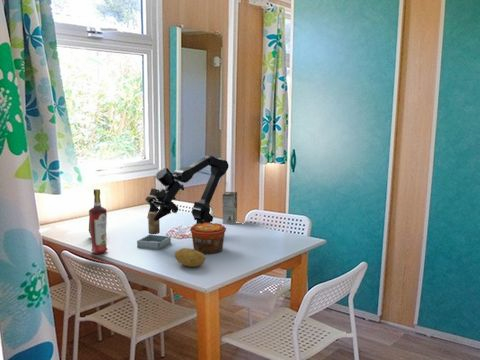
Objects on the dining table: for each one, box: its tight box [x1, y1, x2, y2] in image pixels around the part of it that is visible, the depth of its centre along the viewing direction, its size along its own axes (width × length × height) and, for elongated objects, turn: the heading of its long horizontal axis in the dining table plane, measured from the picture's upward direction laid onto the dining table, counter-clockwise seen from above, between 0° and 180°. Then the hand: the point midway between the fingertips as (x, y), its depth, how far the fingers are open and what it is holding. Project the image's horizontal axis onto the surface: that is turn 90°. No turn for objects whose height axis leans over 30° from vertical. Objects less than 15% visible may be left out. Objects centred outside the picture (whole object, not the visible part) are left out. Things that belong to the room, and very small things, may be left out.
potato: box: [174, 247, 206, 268], centre depth 197 cm, size 9×13×7 cm
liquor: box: [88, 188, 108, 255], centre depth 211 cm, size 7×7×28 cm
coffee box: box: [222, 191, 238, 225], centre depth 266 cm, size 9×6×16 cm
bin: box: [136, 233, 172, 251], centre depth 224 cm, size 11×11×3 cm
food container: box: [189, 222, 227, 255], centre depth 217 cm, size 16×16×11 cm
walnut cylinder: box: [147, 211, 161, 235], centre depth 223 cm, size 5×5×10 cm
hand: (151, 219), depth 222 cm, fingers closed on walnut cylinder, 5 cm apart
